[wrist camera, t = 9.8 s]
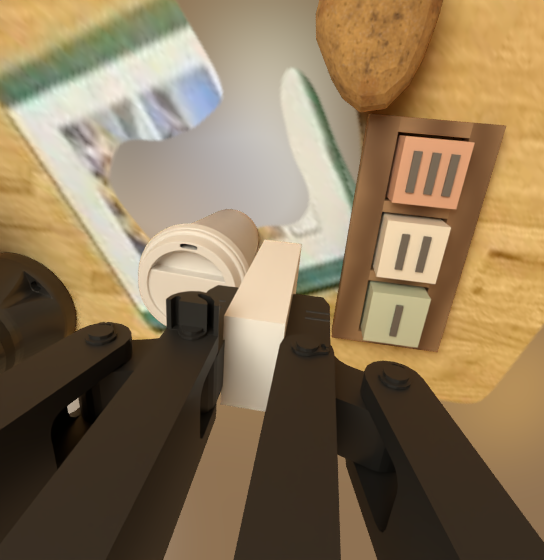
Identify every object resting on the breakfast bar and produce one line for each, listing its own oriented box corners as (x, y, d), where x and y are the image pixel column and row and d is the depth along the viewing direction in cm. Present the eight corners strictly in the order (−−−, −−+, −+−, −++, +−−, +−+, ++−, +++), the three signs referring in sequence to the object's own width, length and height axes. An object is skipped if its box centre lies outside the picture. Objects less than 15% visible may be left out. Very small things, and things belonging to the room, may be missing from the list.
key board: (331, 328, 46) (332, 337, 44) (368, 114, 36) (370, 113, 35) (432, 342, 45) (437, 352, 43) (496, 125, 35) (506, 125, 34)
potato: (312, 113, 37) (308, 110, 30) (321, -70, 32) (320, -128, 24) (414, 114, 36) (437, 112, 29) (442, -75, 31) (479, -137, 23)
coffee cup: (287, 223, 42) (269, 273, 28) (247, 290, 45) (213, 362, 32) (212, 178, 41) (155, 205, 27) (177, 249, 44) (111, 305, 31)
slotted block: (360, 322, 45) (363, 341, 41) (369, 277, 42) (373, 292, 38) (409, 329, 44) (418, 349, 40) (421, 283, 42) (431, 300, 38)
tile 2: (371, 263, 42) (376, 277, 38) (382, 211, 39) (388, 221, 35) (425, 269, 41) (436, 285, 37) (439, 217, 39) (452, 228, 35)
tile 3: (385, 195, 39) (392, 203, 35) (397, 135, 36) (406, 136, 32) (443, 201, 38) (457, 210, 34) (459, 140, 36) (476, 142, 32)
